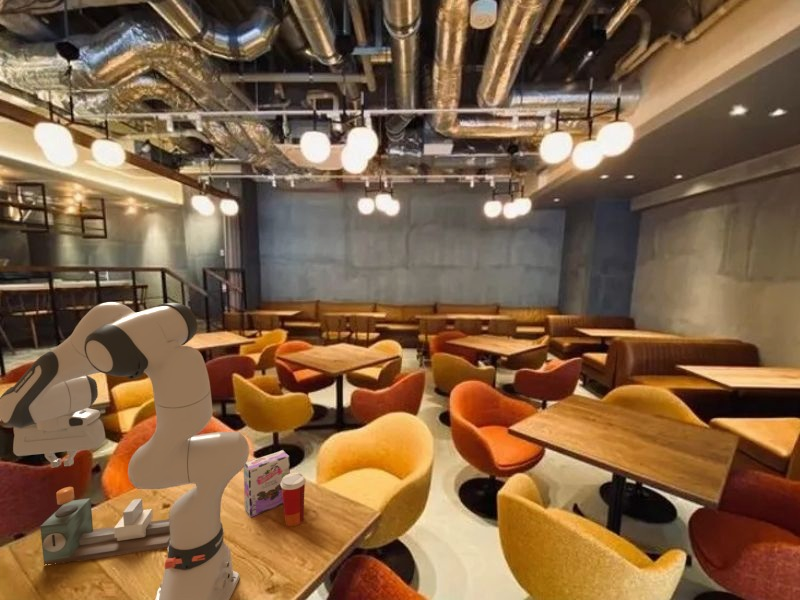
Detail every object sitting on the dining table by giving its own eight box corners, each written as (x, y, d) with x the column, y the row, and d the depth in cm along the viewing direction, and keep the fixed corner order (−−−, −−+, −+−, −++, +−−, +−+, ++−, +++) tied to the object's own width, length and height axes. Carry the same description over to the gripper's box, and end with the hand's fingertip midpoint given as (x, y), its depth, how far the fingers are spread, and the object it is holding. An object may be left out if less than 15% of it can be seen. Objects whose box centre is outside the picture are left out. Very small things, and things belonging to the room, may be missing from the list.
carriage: (142, 539, 107) (140, 511, 106) (115, 544, 106) (112, 514, 105) (153, 523, 114) (151, 496, 113) (127, 527, 112) (125, 499, 112)
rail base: (166, 548, 106) (164, 509, 105) (42, 567, 100) (38, 526, 99) (181, 521, 118) (178, 486, 117) (70, 537, 111) (66, 499, 110)
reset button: (69, 503, 104) (68, 493, 103) (53, 505, 103) (53, 495, 103) (77, 496, 107) (76, 486, 107) (62, 497, 106) (61, 487, 106)
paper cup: (297, 509, 123) (296, 469, 122) (311, 519, 119) (310, 477, 117) (276, 521, 117) (274, 479, 116) (290, 532, 113) (289, 488, 111)
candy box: (250, 518, 119) (248, 469, 118) (244, 509, 124) (242, 462, 122) (291, 501, 128) (289, 455, 126) (284, 493, 132) (283, 448, 131)
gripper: (3, 426, 98) (8, 476, 99) (93, 418, 102) (97, 467, 103) (22, 417, 104) (26, 464, 105) (106, 410, 108) (109, 455, 109)
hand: (62, 465), depth 104 cm, fingers closed
